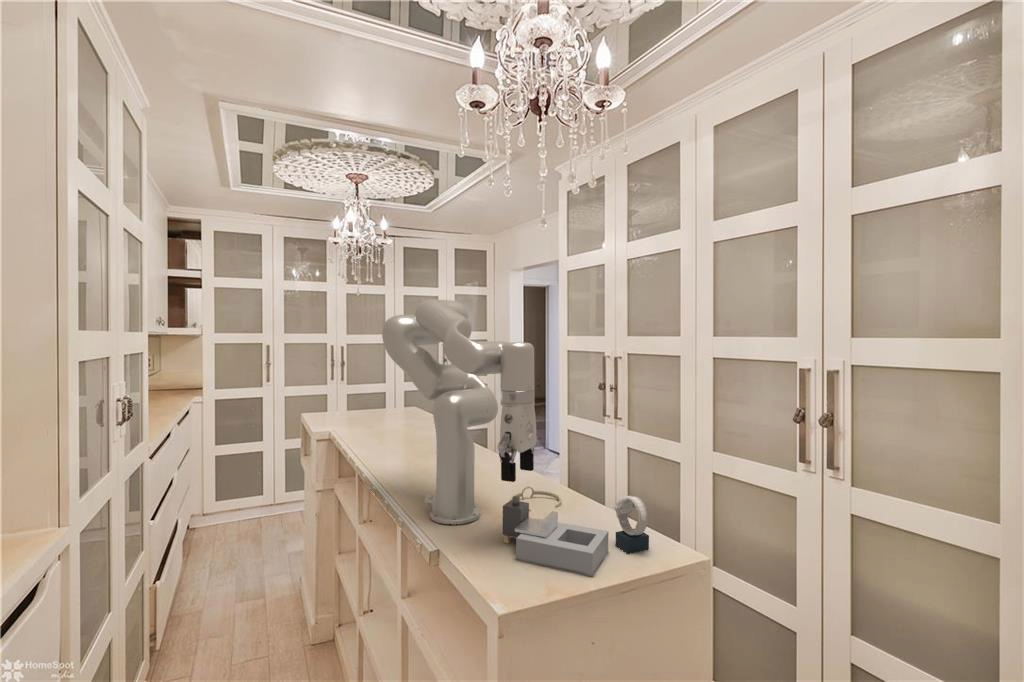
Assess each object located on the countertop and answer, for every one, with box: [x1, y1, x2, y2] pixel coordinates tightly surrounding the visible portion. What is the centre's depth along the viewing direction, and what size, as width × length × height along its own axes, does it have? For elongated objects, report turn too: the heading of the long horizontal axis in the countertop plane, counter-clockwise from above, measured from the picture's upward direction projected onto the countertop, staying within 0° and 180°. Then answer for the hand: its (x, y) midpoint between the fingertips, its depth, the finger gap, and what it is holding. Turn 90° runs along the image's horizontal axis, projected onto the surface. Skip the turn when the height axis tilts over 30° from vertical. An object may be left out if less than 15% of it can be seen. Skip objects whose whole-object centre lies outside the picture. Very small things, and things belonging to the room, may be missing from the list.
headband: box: [509, 486, 562, 512], centre depth 137 cm, size 15×4×10 cm
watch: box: [614, 495, 650, 555], centre depth 109 cm, size 6×8×11 cm
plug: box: [502, 495, 530, 544], centre depth 112 cm, size 4×4×10 cm
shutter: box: [515, 510, 559, 537], centre depth 107 cm, size 7×7×3 cm
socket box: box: [515, 518, 609, 578], centre depth 105 cm, size 16×12×4 cm
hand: (517, 475), depth 111 cm, fingers open, 9 cm apart
